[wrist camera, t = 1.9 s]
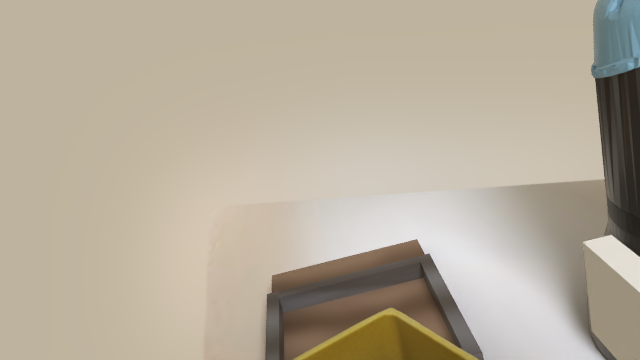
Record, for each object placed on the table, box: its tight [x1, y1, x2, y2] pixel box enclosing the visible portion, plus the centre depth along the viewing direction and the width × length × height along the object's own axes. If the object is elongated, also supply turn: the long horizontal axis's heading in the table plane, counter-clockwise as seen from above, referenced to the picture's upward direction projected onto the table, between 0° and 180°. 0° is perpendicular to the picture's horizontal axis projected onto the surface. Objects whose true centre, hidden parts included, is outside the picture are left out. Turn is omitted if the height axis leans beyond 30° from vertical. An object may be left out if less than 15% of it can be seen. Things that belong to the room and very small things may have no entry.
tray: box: [266, 239, 483, 360], centre depth 48 cm, size 20×14×2 cm
